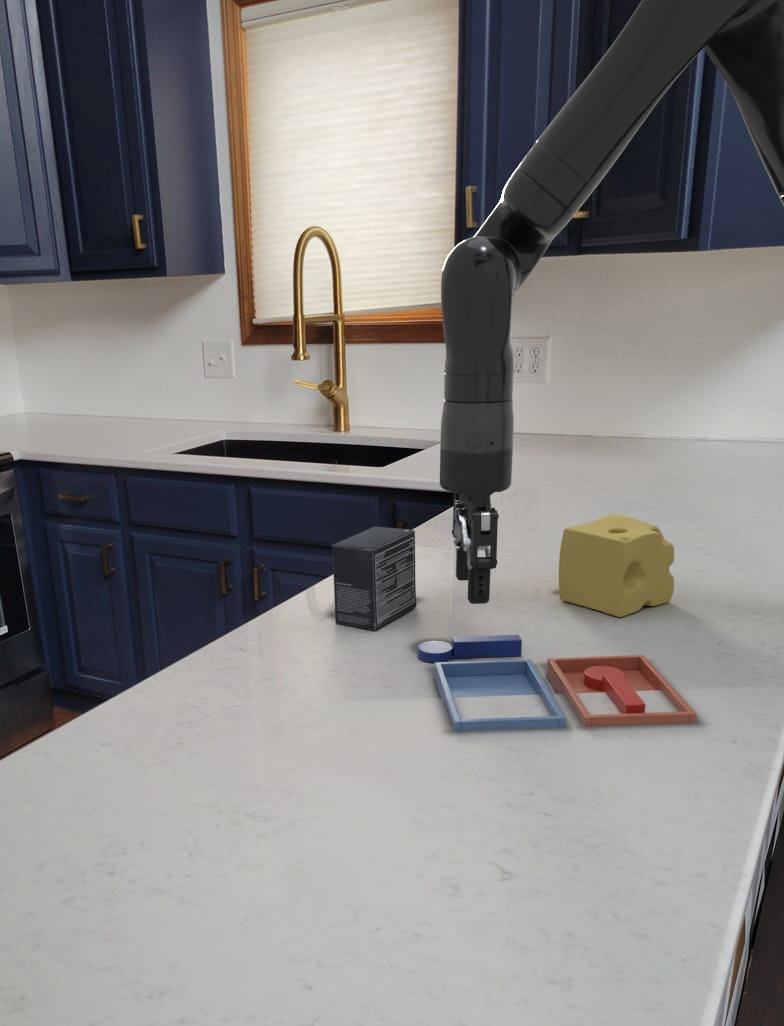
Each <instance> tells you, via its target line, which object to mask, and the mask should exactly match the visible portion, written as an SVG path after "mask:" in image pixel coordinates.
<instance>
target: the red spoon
mask: <svg viewBox="0 0 784 1026" xmlns="http://www.w3.org/2000/svg"><path fill="white" fill-rule="evenodd" d="M584 684H585V685H586V686H587V687H589V688H592V689H595V690H600V691H601V692H600V693H606V695H607V697H608V698H609V699H610V700H611V701H612V703H613V705H614V706H615V707H616V708H617V710H618V711H619V713H620V714H629V713H646V711H645V710H646V703H645V702H644V700H643V699H642V698H641V697H640V695H638V693H637V691H634V690H633V688H632V687H631V686H630V685H629V684H628V682H627V681H626V680H625V673H624V672H623V671H622V670H620V669H617V668H614V667H609V666H593V667H589V668H587V669H586V670H585V671H584Z"/></svg>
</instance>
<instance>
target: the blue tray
mask: <svg viewBox="0 0 784 1026" xmlns="http://www.w3.org/2000/svg"><path fill="white" fill-rule="evenodd" d="M434 681H435V685H436V688H437V691H438V694H439V697H440V699H444V700H443V701H444V703H445V706H446V709H447V712H448V715H449V719H450V721H451V724H452V727H453V730H454V732H465V731H491V730H493V731H494V730H496V731H497V730H521V729H548V728H549V729H553V728H566V720H567V719H566V717H565V715H564V713H563V711H562V709H561V708H560V706H559V705H558V703H557V701H556V700H555V698H554V697H553V694H552V693H551V691H550V690H549V688H548V686H547V685H546V682H545V681H544V680H543V678H542V676H541V674H540V672H539V670H538V669H537V668H536V666H535V664H534V663H533V661H532V659H531V658H525V659H524V658H523V659H522V658H521V659H520V658H519V659H518V658H517V659H495V660H491V659H490V660H468V661H467V660H464V661H447V662H441V663H440V662H435V663H434ZM538 695H540V697H541V698H542V701H543V702H544V704H545V706H546V708H547V710H548V712H549V713H550V714H551V715H550V716H549V715H547V716H545V715H544V716H518V717H491V718H463V719H461V718H460V714H459V712H458V710H457V706H456V703H455V700H454V699H455V698H456V699H457V698H480V697H481V698H483V697H509V696H511V697H512V696H538Z"/></svg>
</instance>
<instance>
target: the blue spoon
mask: <svg viewBox="0 0 784 1026" xmlns="http://www.w3.org/2000/svg"><path fill="white" fill-rule="evenodd" d="M522 648H523V640H522V638H521V636H520V635H519V634H500V635H474V636H473V635H472V636H471V635H469V636H452V637H451V643H449V642H448V641H447V642H446V641H441V640H427V641H424V642H421V643H419V644H417V658H418V660H420V659H421V660H420V661H422V660H423V661H422V662H424V661H427V662H426V663H429V662H434V663H433V664H435V662H445V661H447V662H449V661H452V659H454V658H458V659H481V658H482V659H484V658H507V657H509V658H510V657H512V658H513V657H522ZM448 660H449V661H448Z"/></svg>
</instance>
